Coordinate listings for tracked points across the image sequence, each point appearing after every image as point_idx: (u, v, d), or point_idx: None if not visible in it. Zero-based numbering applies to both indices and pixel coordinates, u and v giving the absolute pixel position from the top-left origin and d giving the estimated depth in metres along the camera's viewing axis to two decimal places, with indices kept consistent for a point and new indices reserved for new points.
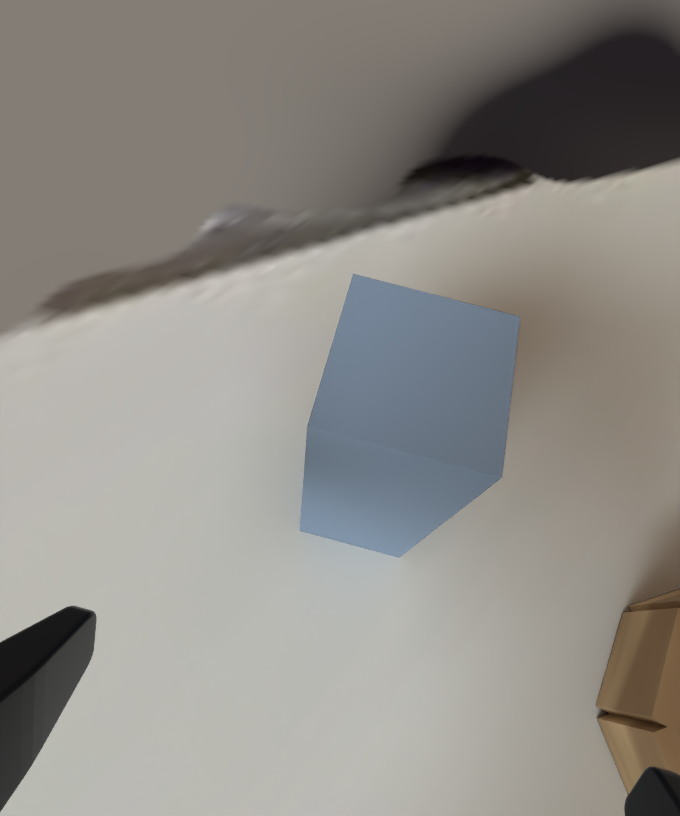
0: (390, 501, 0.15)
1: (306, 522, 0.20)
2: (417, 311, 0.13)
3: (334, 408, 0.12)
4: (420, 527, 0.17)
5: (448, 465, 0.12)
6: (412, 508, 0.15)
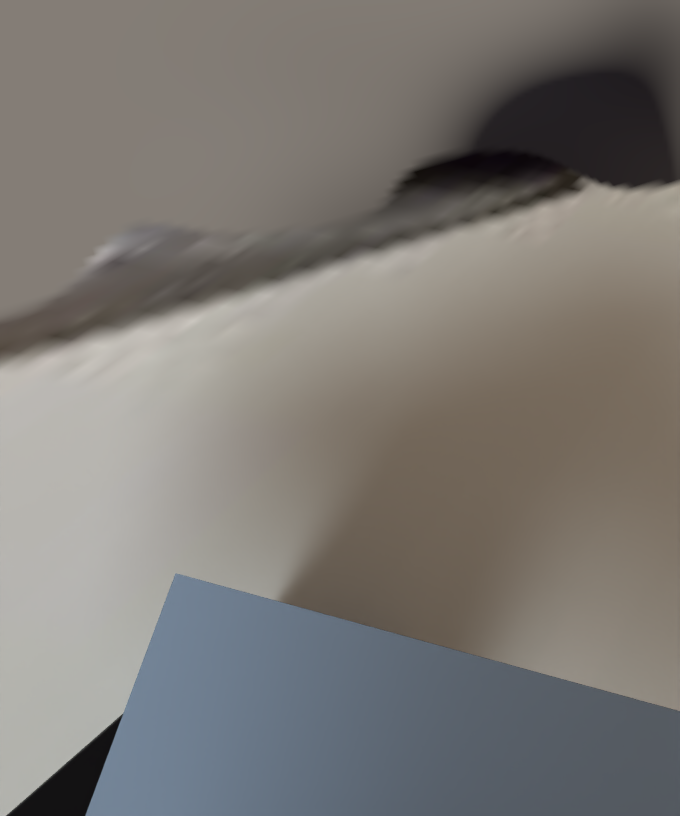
0: None
1: None
2: (414, 753, 0.03)
3: None
4: None
5: None
6: None
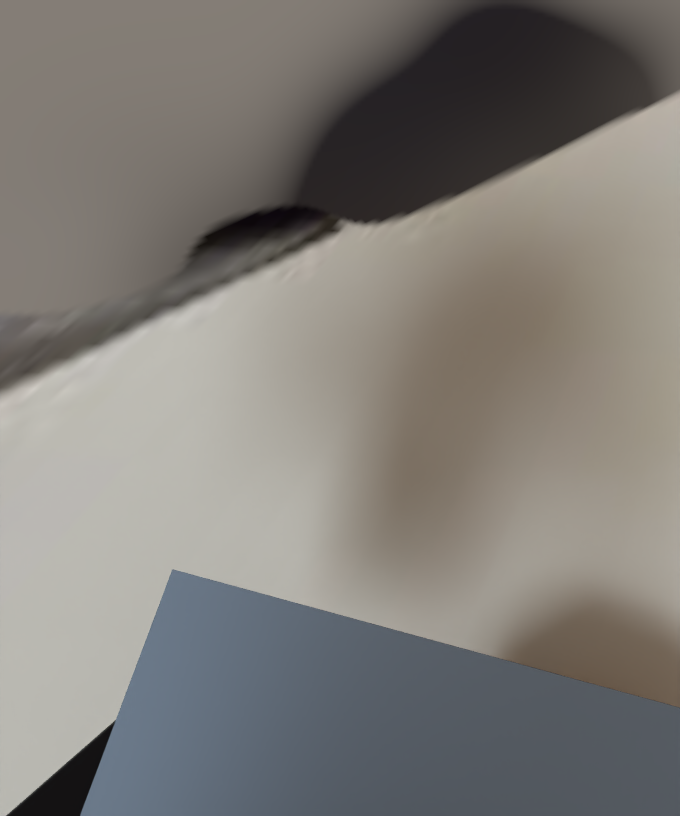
0: None
1: None
2: (409, 747, 0.03)
3: None
4: None
5: None
6: None
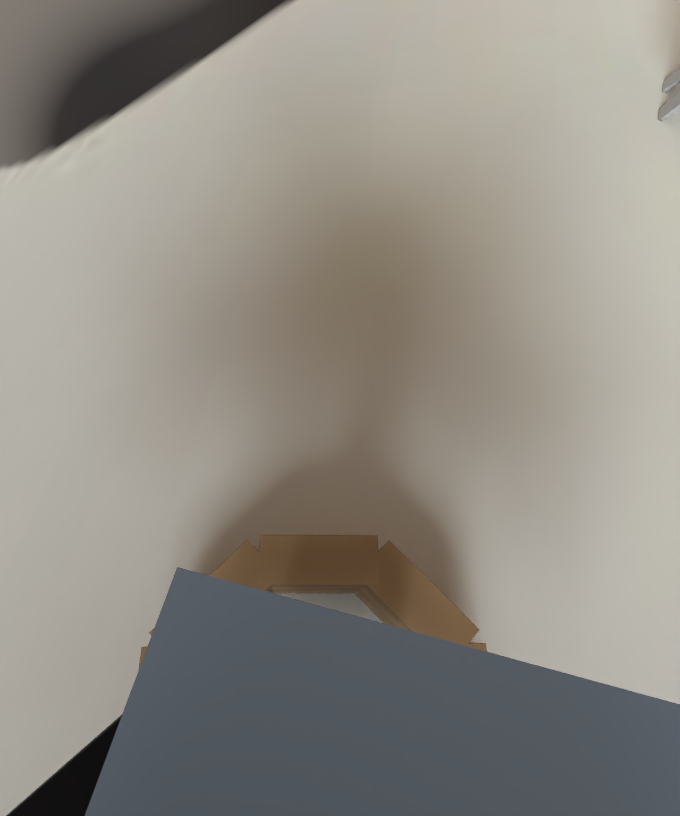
0: None
1: None
2: (415, 745, 0.03)
3: None
4: None
5: None
6: None
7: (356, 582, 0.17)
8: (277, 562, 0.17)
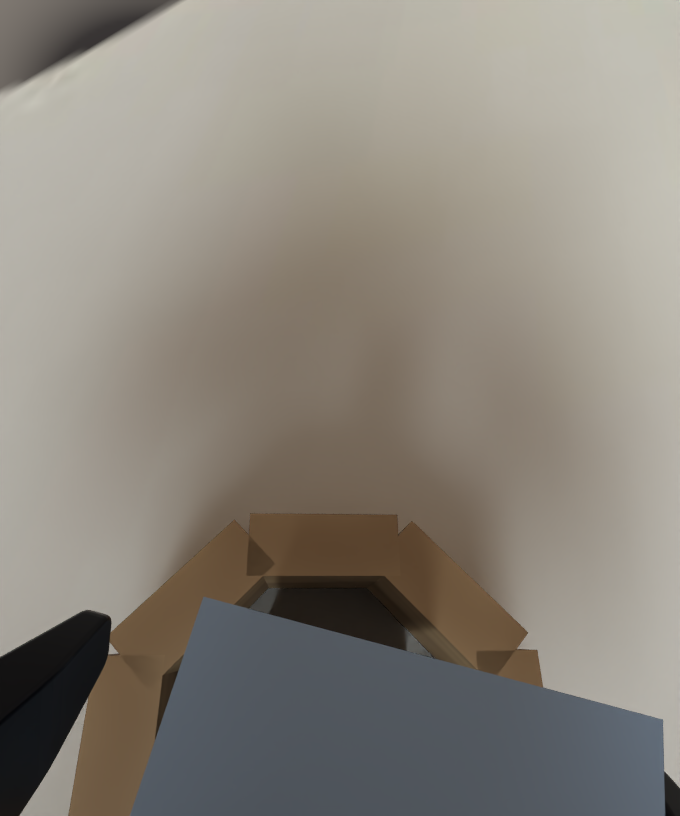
0: None
1: None
2: (376, 725, 0.05)
3: None
4: None
5: None
6: None
7: (371, 573, 0.13)
8: (271, 548, 0.13)
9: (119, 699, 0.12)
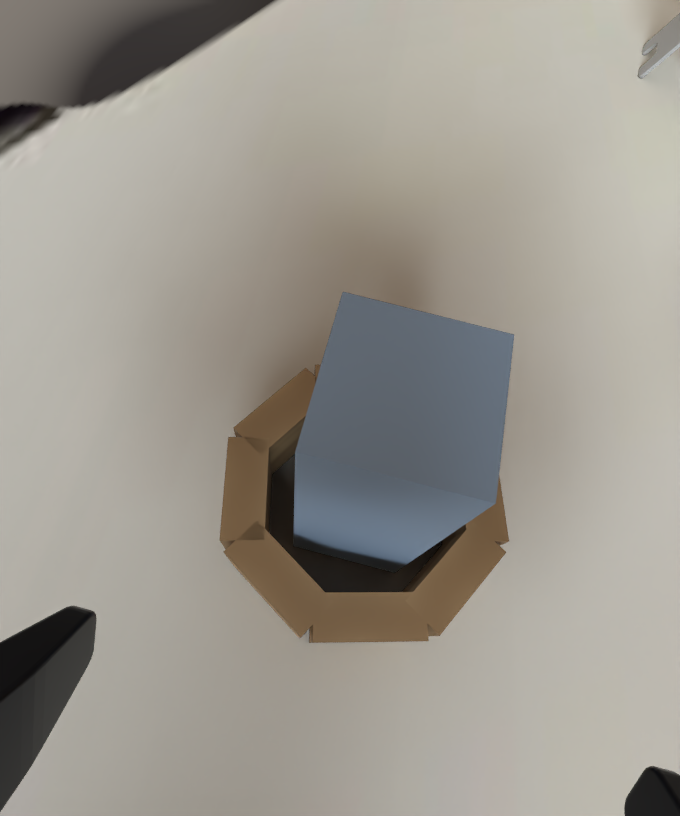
0: (383, 522, 0.15)
1: (299, 538, 0.20)
2: (408, 330, 0.13)
3: (322, 433, 0.11)
4: (414, 546, 0.17)
5: (440, 490, 0.11)
6: (406, 529, 0.15)
7: None
8: None
9: (244, 459, 0.20)
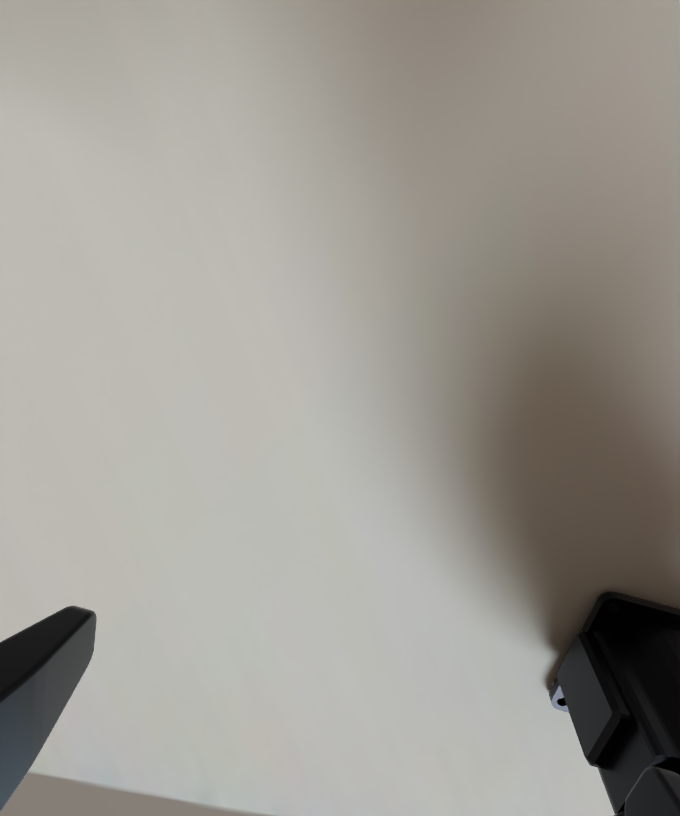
0: None
1: None
2: None
3: None
4: None
5: None
6: None
7: None
8: None
9: None
